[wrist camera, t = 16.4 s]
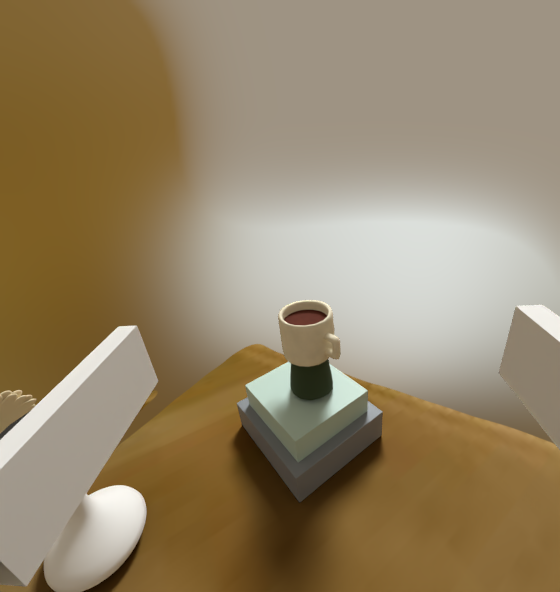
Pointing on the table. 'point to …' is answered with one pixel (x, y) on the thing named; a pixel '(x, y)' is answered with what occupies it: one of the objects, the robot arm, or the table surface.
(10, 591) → the table surface
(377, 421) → the tower base
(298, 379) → the character mug
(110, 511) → the flower in vase
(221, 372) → the table surface
